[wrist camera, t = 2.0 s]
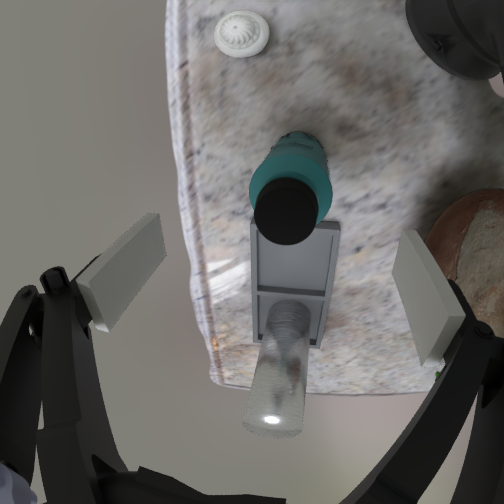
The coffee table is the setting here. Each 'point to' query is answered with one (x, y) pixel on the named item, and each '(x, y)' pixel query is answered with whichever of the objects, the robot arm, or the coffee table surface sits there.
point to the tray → (294, 276)
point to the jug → (474, 252)
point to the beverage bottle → (291, 189)
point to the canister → (280, 373)
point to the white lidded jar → (242, 34)
